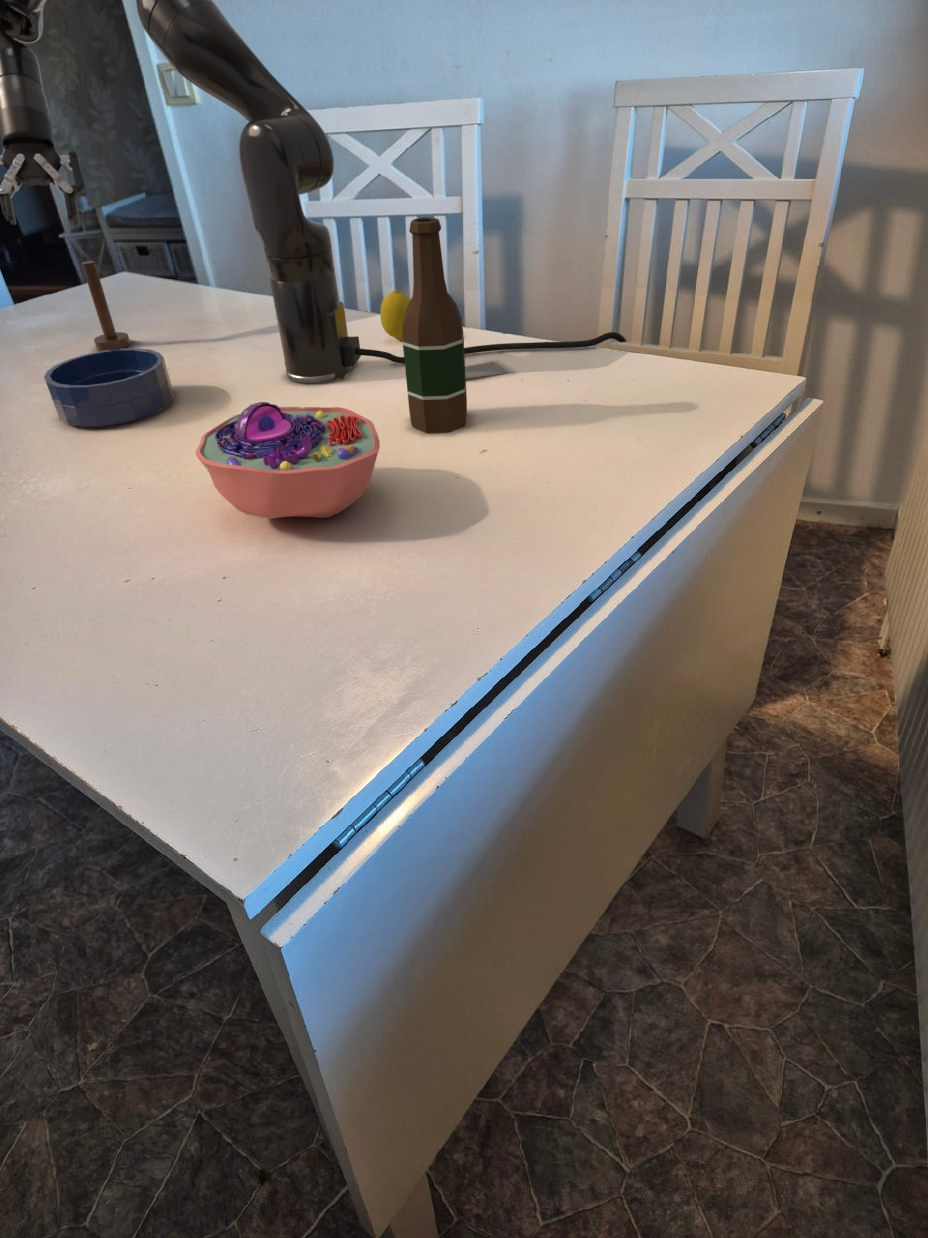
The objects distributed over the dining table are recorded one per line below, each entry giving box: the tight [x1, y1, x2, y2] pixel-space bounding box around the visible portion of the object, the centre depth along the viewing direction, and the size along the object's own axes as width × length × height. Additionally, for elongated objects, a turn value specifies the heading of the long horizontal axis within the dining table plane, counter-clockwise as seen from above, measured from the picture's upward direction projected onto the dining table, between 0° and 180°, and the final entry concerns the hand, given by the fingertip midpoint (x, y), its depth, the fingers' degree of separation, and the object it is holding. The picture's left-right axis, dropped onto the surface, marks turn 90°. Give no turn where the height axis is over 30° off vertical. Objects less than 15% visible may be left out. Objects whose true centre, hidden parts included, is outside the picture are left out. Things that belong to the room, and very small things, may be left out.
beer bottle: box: [402, 216, 468, 434], centre depth 98 cm, size 8×8×24 cm
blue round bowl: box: [43, 347, 175, 428], centre depth 113 cm, size 16×16×6 cm
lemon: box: [379, 289, 411, 342], centre depth 131 cm, size 6×6×8 cm
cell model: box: [195, 401, 381, 519], centre depth 85 cm, size 17×20×11 cm
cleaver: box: [465, 361, 510, 380], centre depth 118 cm, size 13×1×5 cm
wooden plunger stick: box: [81, 260, 131, 352], centre depth 135 cm, size 6×6×14 cm
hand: (42, 221), depth 128 cm, fingers open, 8 cm apart
